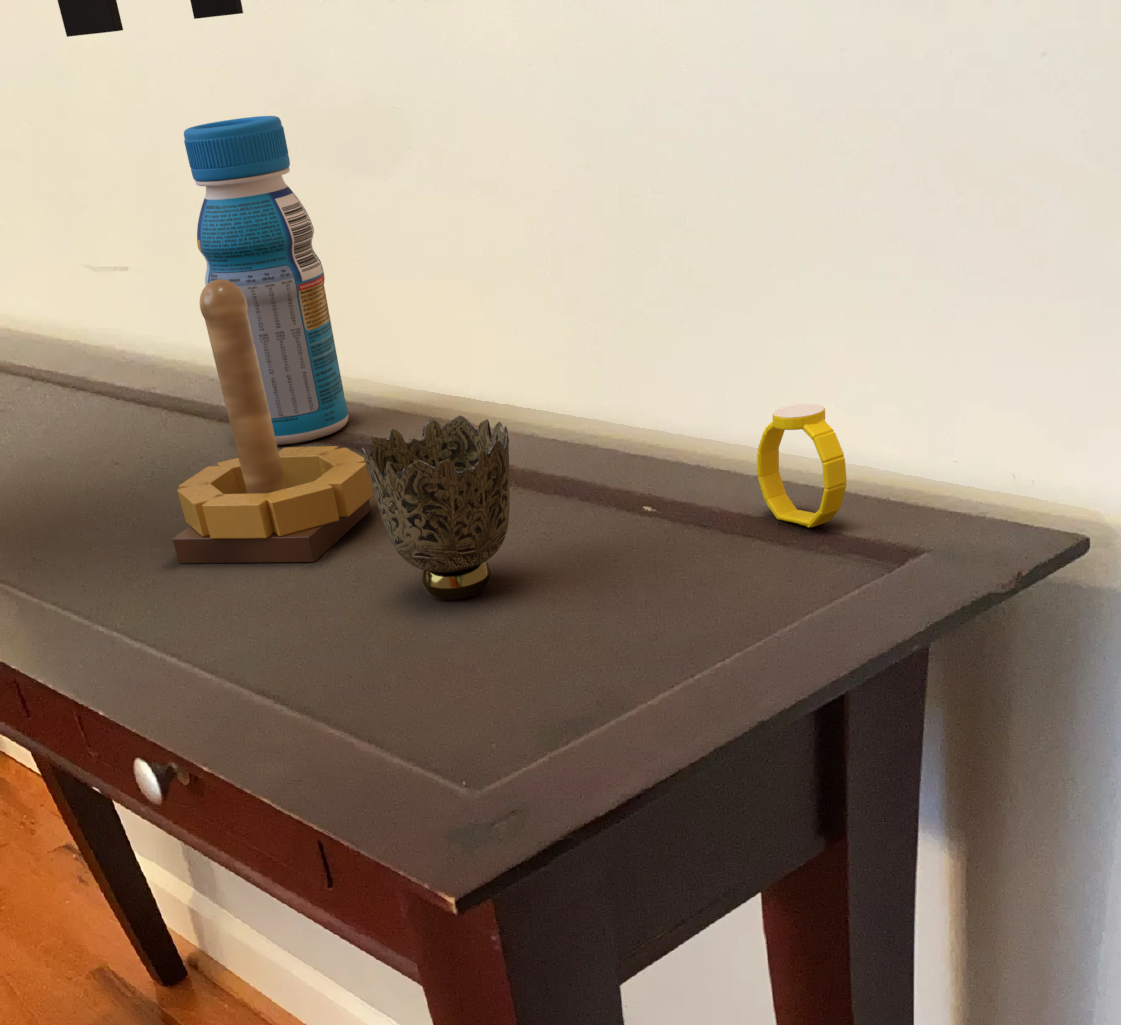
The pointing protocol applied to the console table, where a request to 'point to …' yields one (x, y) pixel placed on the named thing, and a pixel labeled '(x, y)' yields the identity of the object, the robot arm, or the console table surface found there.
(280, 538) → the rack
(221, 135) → the beverage bottle
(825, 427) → the watch
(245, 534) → the ring
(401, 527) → the cup
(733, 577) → the console table surface
